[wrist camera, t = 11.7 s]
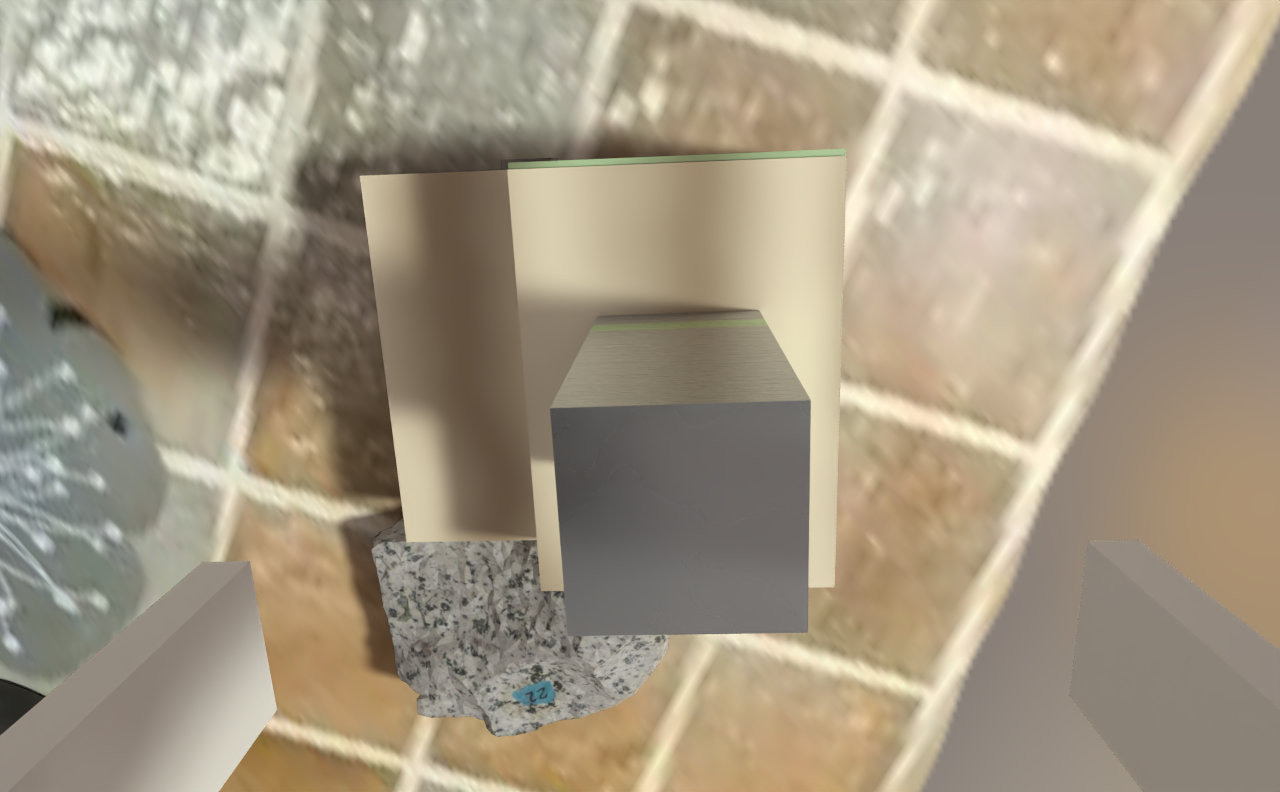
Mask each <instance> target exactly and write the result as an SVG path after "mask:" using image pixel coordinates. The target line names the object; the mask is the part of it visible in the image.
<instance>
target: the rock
mask: <svg viewBox="0 0 1280 792" xmlns="http://www.w3.org/2000/svg"><path fill="white" fill-rule="evenodd" d="M372 542H373V548H372V550H371V551H372V556H373V560H374V564H375V565H376V567H377V574H378V578H379V583H380V590H381V594H382V601H383V608H384V610H385V612H386V614H387V617H388V623H389V629H390V634H391V637H392V641H393V645H394V651H395V666H396V669H397V673H398V675H399V677H400V678H401V680H402V681H404V682H406V683H407V684H408V685H409V686H410V687H411V688H412V689H413V690H414V691H415V692H417V693H418V694H420V696H419V697H418V698H417V709H418V714H419V715H423V716H426V717H431V718H439V717H446V716H447V717H475V718H477V719H480V720H484V721H485V724H486V727H487V729H488V730H489V731H490V732H491V734H493V735H495V736H497V737H500V736H505V735H507V736H515V735H519V734H522V733H529V732H533V731H536V730H537V729H538V728H539V727H542V726H545V725H548V724H551V723H554V722H557V721H562V720H569V719H576V718H582V717H585V716H588V715H590V714H593V713H596V712H598V711H601V710H604V709H607V708H610V707H613V706H616V705H618V704H619V703H621V702H622V701H624V700H625V699H627V698H629V697H631V696H634V695H635V693H636V692H637V690H638V689H639V688H640V687H641V686H642V685H643V683H644V682H645V681H646V680H647V678H648V677H649V676H650V675H651V673H652V672H653V671H654V669H655V668H656V667H657V665H658V664H659V662H660V661H661V660H662V659H663V657H664V655H665V653H666V651H667V649H668V646H669V642H668V640H669V637H668V635H612V636H567V623H566V610H565V597H564V591H541V585H540V572H539V560H538V547H537V540H513V541H454V542H406V534H405V526H404V518H402V519H400V520H399V521H398V522H397V523H396V524H395V525H394V527H393V528H388V529H386V530H383V531H381V532H379V534H378V535H377V536H375V537H374V539H373V540H372Z"/></svg>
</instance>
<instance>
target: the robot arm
mask: <svg viewBox="0 0 1280 792" xmlns="http://www.w3.org/2000/svg"><path fill="white" fill-rule="evenodd" d="M1069 696H1070V698H1071V699H1072V700H1073V701H1074V703H1075V704H1076V705H1077V707H1078V708H1079V709H1080V710H1081V712H1082V713H1083V714H1084V716H1085V717H1086V718H1087V720H1088V721H1089V722H1090V723H1091V724H1092V726H1093V727H1094V729H1095V730H1096V731H1097V733H1098V734H1099V735H1100V736H1101V738H1102V739H1103V740H1104V741H1105V743H1106V744H1107V745H1108V747H1109V748H1110V749H1111V751H1112V752H1113V753H1114V755H1115V756H1116V757H1117V758H1118V760H1119V761H1120V762H1121V764H1122V765H1123V766H1124V767H1125V769H1126V770H1127V771H1128V773H1129V774H1130V775H1131V777H1132V778H1133V779H1134V780H1135V782H1136V783H1137V784H1138V786H1139V787H1140V788H1141V789H1142V791H1143V792H1280V650H1279V649H1278V648H1276V647H1275V646H1274V645H1273V644H1271V643H1270V642H1269V641H1268V640H1266V639H1265V638H1264V637H1262V636H1261V635H1260V634H1259V633H1257V632H1256V631H1255V630H1253V629H1252V628H1251V627H1250V626H1248V625H1247V624H1246V623H1244V622H1243V621H1242V620H1241V619H1239V618H1238V617H1237V616H1235V615H1234V614H1233V613H1231V612H1230V611H1229V610H1228V609H1226V608H1225V607H1224V606H1223V605H1221V604H1220V603H1219V602H1217V601H1216V600H1215V599H1213V598H1212V597H1211V596H1210V595H1209V594H1207V593H1206V592H1205V591H1203V590H1202V589H1201V588H1200V587H1198V586H1197V585H1196V584H1194V583H1193V582H1191V580H1189V579H1188V578H1186V577H1185V576H1184V575H1183V574H1182V573H1180V572H1179V571H1178V570H1176V569H1175V568H1174V567H1173V566H1171V565H1170V564H1169V563H1167V562H1166V561H1165V560H1163V559H1162V558H1161V557H1160V556H1158V555H1157V554H1156V553H1155V552H1153V551H1152V550H1151V549H1149V548H1148V547H1147V546H1146V545H1144V544H1143V543H1142V542H1140V541H1139V540H1115V541H1114V540H1113V541H1088V542H1087V550H1086V560H1085V567H1084V576H1083V584H1082V593H1081V602H1080V610H1079V618H1078V627H1077V635H1076V644H1075V652H1074V661H1073V669H1072V679H1071V687H1070V695H1069ZM276 710H277V708H276V702H275V697H274V691H273V686H272V680H271V675H270V670H269V664H268V659H267V653H266V648H265V642H264V637H263V631H262V626H261V620H260V615H259V610H258V604H257V599H256V593H255V588H254V582H253V577H252V571H251V566H250V561H233V562H202V563H201V564H200V565H199V566H198V567H196V568H195V569H194V570H193V571H192V572H191V573H189V574H188V575H187V576H186V577H185V578H184V579H182V580H181V581H180V582H179V583H178V584H177V585H175V586H174V587H173V588H172V589H171V590H170V591H168V592H167V593H166V594H165V595H164V596H163V597H161V598H160V599H159V600H158V601H157V602H156V603H154V604H153V605H152V606H151V607H150V608H149V609H147V610H146V611H145V612H144V613H143V614H142V615H140V616H139V617H138V618H137V619H136V620H135V621H133V622H132V623H131V624H130V625H129V626H128V627H126V628H125V629H124V630H123V631H122V632H121V633H119V634H118V635H117V636H116V637H115V638H114V639H112V640H111V641H110V642H109V643H108V644H107V645H105V646H104V647H103V648H102V649H101V650H100V651H98V652H97V653H96V654H95V655H94V656H93V657H91V658H90V659H89V660H88V661H87V662H86V663H84V664H83V665H82V666H81V667H80V668H79V669H77V670H76V671H75V672H74V673H73V674H72V675H70V676H69V677H68V678H67V679H66V680H65V681H63V682H62V683H61V684H60V685H59V686H58V687H56V688H55V689H54V690H53V691H52V692H50V693H49V694H48V695H47V696H46V697H45V698H44V697H41V696H39V695H37V694H35V693H33V692H31V691H28V690H26V689H23V688H21V687H18V686H15V685H12V684H9V683H5V682H2V681H0V792H219V790H220V789H221V788H222V786H223V785H224V783H225V782H226V781H227V779H228V778H229V776H230V775H231V774H232V772H233V771H234V769H235V768H236V767H237V765H238V764H239V762H240V761H241V760H242V758H243V757H244V755H245V754H246V752H247V751H248V750H249V748H250V747H251V745H252V744H253V743H254V741H255V740H256V738H257V737H258V736H259V734H260V733H261V731H262V730H263V729H264V727H265V726H266V724H267V723H268V722H269V720H270V719H271V717H272V716H273V715H274V713H275V712H276Z"/></svg>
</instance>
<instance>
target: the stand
mask: <svg viewBox="0 0 1280 792" xmlns="http://www.w3.org/2000/svg"><path fill="white" fill-rule="evenodd" d="M845 153H846V149H829V150H804V151H780V152H756V153H731V154H707V155H683V156H658V157H634V158H609V159H585V160H561V161H558V158H540V159H516V160H501V168H502V170H491V171H466V172H442V173H417V174H392V175H368V176H360V182H361V190H362V198H363V206H364V213H365V221H366V229H367V237H368V245H369V252H370V260H371V268H372V276H373V284H374V292H375V299H376V307H377V315H378V323H379V331H380V338H381V346H382V354H383V362H384V370H385V378H386V385H387V393H388V401H389V409H390V417H391V425H392V432H393V440H394V448H395V456H396V464H397V471H398V479H399V487H400V495H401V503H402V511H403V518H404V526H405V534H406V542H454V541H513V540H537V547H538V560H539V572H540V585H541V591H564V584H563V571H562V558H561V545H560V532H559V519H558V506H557V493H556V481H555V468H554V455H553V442H552V429H551V416H550V407H551V405H552V403H553V401H554V399H555V397H556V395H557V394H558V392H559V390H560V388H561V386H562V384H563V382H564V380H565V378H566V376H567V374H568V372H569V370H570V368H571V366H572V364H573V363H574V361H575V359H576V357H577V355H578V353H579V351H580V349H581V347H582V345H583V343H584V341H585V339H586V337H587V335H588V334H589V332H590V330H591V328H592V326H593V324H594V322H595V320H596V318H597V316H607V315H634V314H662V313H690V312H717V311H745V310H760V312H761V314H762V316H763V317H764V319H765V321H766V323H767V324H768V326H769V328H770V330H771V331H772V333H773V335H774V337H775V338H776V340H777V342H778V344H779V345H780V347H781V349H782V351H783V352H784V354H785V356H786V358H787V359H788V361H789V363H790V365H791V366H792V368H793V370H794V372H795V373H796V375H797V377H798V379H799V380H800V382H801V384H802V386H803V387H804V389H805V391H806V393H807V394H808V396H809V398H810V400H811V430H810V504H809V579H808V587H834V585H835V550H836V515H837V480H838V445H839V410H840V375H841V341H842V306H843V271H844V236H845V201H846V166H847V156H845Z"/></svg>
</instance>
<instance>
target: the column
mask: <svg viewBox="0 0 1280 792" xmlns="http://www.w3.org/2000/svg"><path fill="white" fill-rule="evenodd" d="M550 416H551V429H552V442H553V455H554V468H555V481H556V493H557V506H558V519H559V532H560V545H561V558H562V571H563V584H564V597H565V610H566V623H567V636H612V635H677V634H742V633H808V579H809V504H810V430H811V400H810V398H809V396H808V394H807V393H806V391H805V389H804V387H803V386H802V384H801V382H800V380H799V379H798V377H797V375H796V373H795V372H794V370H793V368H792V366H791V365H790V363H789V361H788V359H787V358H786V356H785V354H784V352H783V351H782V349H781V347H780V345H779V344H778V342H777V340H776V338H775V337H774V335H773V333H772V331H771V330H770V328H769V326H768V324H767V323H766V321H765V319H764V317H763V316H762V314H761V312H760V310H745V311H717V312H690V313H662V314H634V315H607V316H597V318H596V320H595V322H594V324H593V326H592V328H591V330H590V332H589V334H588V335H587V337H586V339H585V341H584V343H583V345H582V347H581V349H580V351H579V353H578V355H577V357H576V359H575V361H574V363H573V364H572V366H571V368H570V370H569V372H568V374H567V376H566V378H565V380H564V382H563V384H562V386H561V388H560V390H559V392H558V394H557V395H556V397H555V399H554V401H553V403H552V405H551V407H550Z"/></svg>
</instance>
